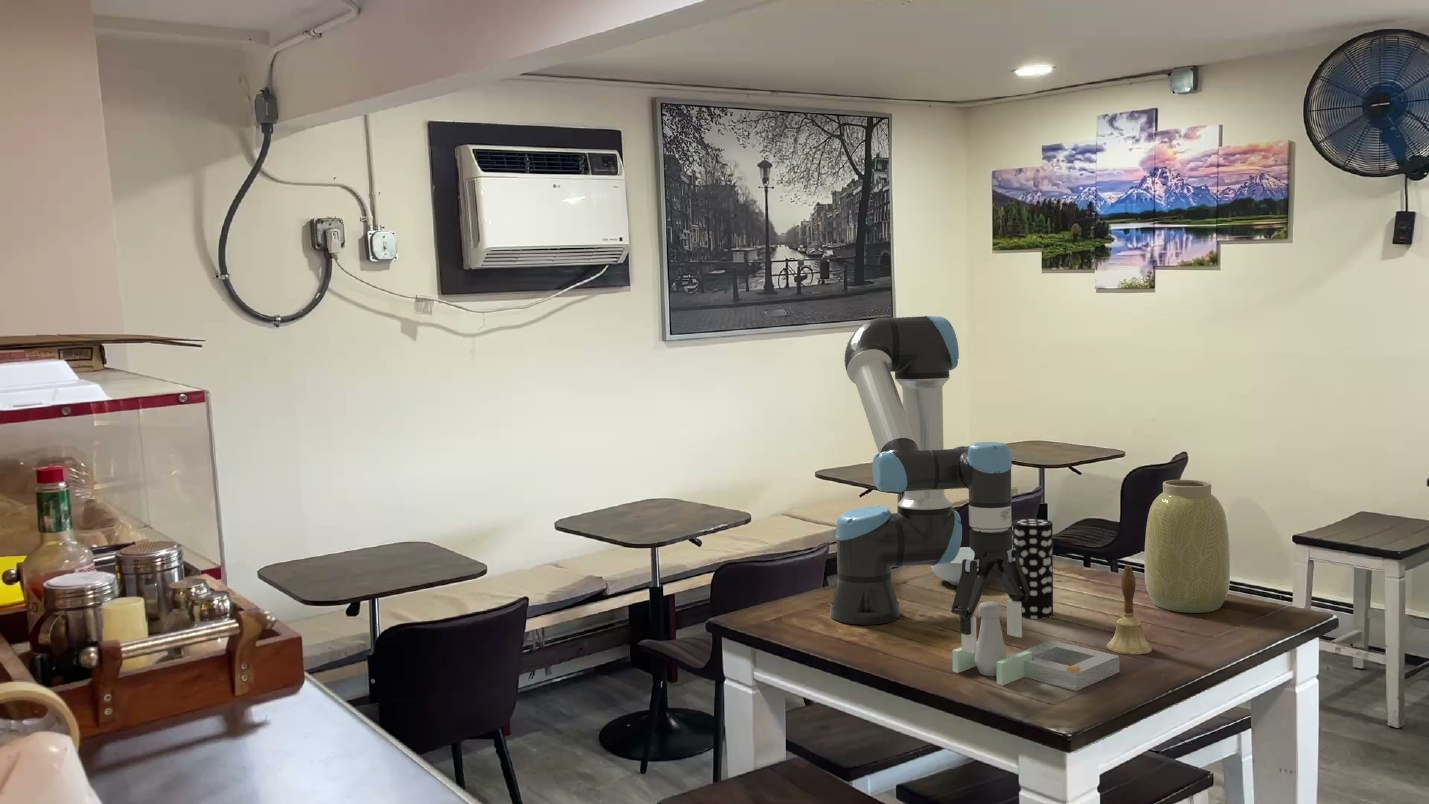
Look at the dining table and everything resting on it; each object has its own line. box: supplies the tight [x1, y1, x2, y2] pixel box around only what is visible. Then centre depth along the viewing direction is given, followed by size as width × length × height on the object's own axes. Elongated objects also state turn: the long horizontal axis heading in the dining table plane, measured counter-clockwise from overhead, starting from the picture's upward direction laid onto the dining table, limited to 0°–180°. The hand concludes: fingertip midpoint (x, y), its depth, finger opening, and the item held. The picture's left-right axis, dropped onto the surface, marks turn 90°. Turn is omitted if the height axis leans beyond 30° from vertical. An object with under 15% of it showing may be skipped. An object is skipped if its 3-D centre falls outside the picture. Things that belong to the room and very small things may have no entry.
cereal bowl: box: [930, 546, 979, 587], centre depth 270 cm, size 17×17×7 cm
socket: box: [1007, 639, 1120, 692], centre depth 203 cm, size 14×14×4 cm
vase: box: [1143, 479, 1231, 614], centre depth 243 cm, size 17×17×27 cm
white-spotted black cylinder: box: [1011, 518, 1054, 620], centre depth 241 cm, size 8×8×20 cm
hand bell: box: [1106, 566, 1153, 656], centre depth 215 cm, size 8×8×16 cm
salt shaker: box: [975, 600, 1008, 677], centre depth 204 cm, size 6×6×13 cm
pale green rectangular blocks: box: [951, 640, 1032, 686], centre depth 204 cm, size 11×9×4 cm
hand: (992, 643), depth 204 cm, fingers open, 13 cm apart
